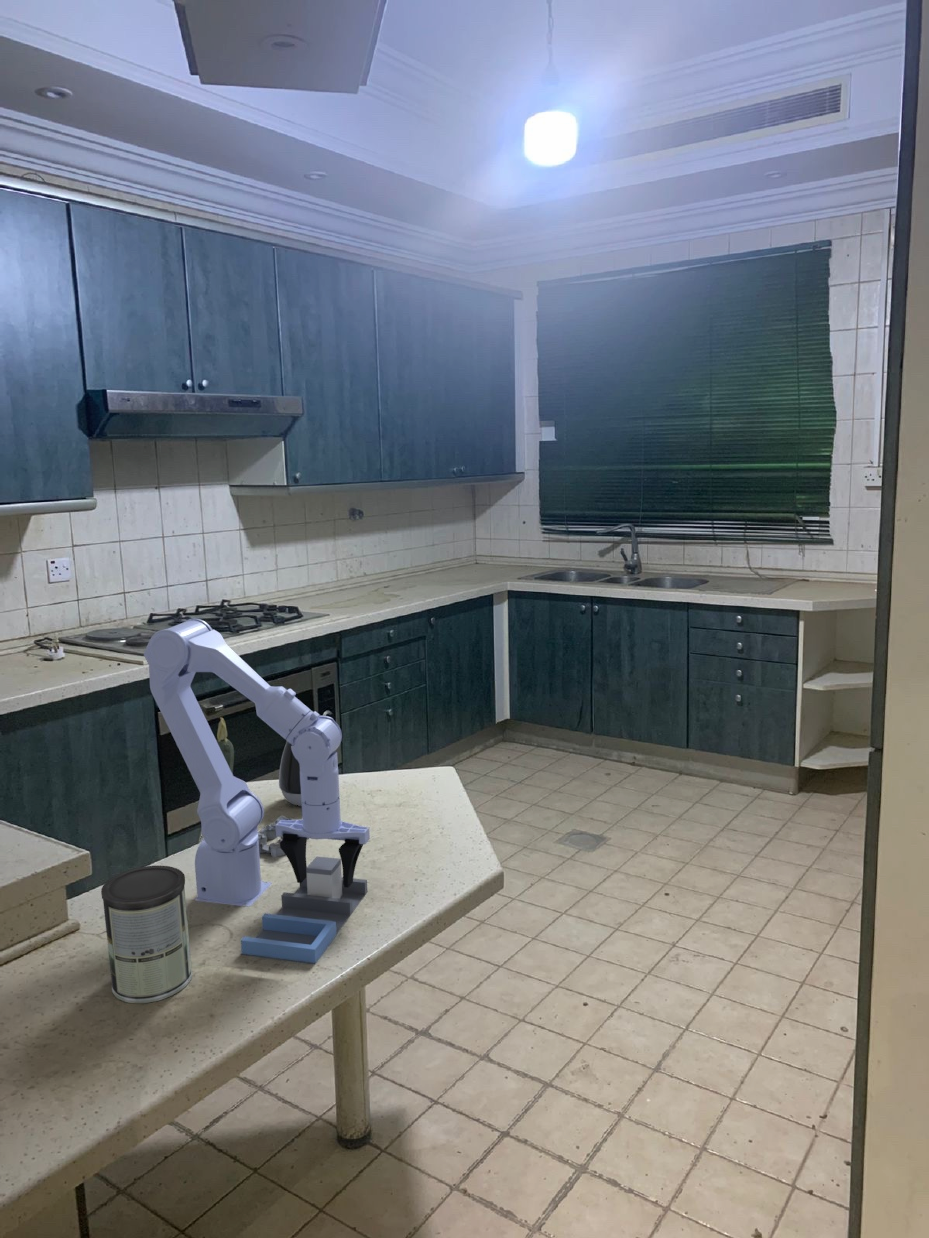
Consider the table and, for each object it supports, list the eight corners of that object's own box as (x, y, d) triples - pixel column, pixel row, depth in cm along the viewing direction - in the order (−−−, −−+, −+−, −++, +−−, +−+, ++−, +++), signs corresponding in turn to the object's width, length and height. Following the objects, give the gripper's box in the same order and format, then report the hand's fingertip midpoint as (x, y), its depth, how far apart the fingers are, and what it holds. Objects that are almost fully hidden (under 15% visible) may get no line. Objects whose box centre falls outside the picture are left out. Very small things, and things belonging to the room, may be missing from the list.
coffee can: (95, 985, 121) (85, 886, 118) (164, 951, 129) (156, 857, 126) (138, 1014, 114) (129, 910, 112) (208, 977, 122) (201, 879, 120)
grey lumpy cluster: (280, 864, 156) (279, 841, 155) (245, 856, 159) (243, 834, 158) (316, 839, 165) (315, 818, 164) (282, 832, 168) (281, 811, 167)
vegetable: (232, 826, 170) (225, 723, 167) (210, 824, 171) (203, 722, 168) (242, 816, 175) (235, 716, 171) (221, 815, 176) (214, 715, 172)
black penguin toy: (305, 815, 175) (301, 739, 172) (269, 803, 181) (264, 730, 178) (343, 799, 183) (340, 726, 180) (307, 788, 189) (303, 717, 186)
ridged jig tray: (241, 958, 127) (239, 941, 126) (303, 887, 147) (302, 872, 146) (315, 967, 124) (314, 950, 123) (368, 894, 144) (367, 878, 143)
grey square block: (308, 904, 140) (306, 867, 139) (318, 891, 144) (316, 856, 143) (332, 907, 139) (330, 870, 138) (342, 894, 143) (340, 858, 142)
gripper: (374, 792, 140) (378, 874, 143) (287, 785, 144) (292, 866, 146) (358, 810, 134) (362, 896, 136) (267, 802, 137) (272, 886, 140)
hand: (325, 882), depth 141 cm, fingers open, 7 cm apart
